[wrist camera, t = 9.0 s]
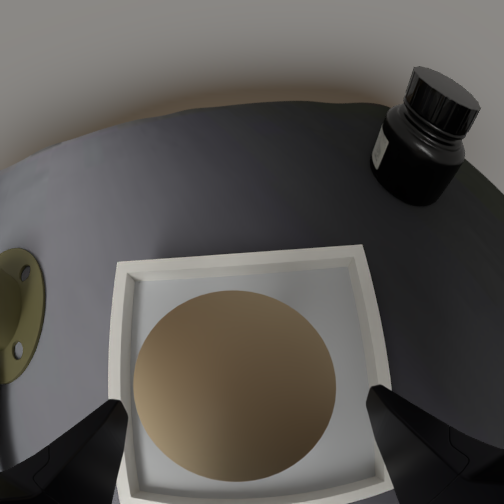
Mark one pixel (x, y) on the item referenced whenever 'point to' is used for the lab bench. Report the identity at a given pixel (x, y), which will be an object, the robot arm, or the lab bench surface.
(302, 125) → the lab bench surface
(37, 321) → the flange
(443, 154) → the ink bottle
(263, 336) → the peg
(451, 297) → the lab bench surface
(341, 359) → the box
